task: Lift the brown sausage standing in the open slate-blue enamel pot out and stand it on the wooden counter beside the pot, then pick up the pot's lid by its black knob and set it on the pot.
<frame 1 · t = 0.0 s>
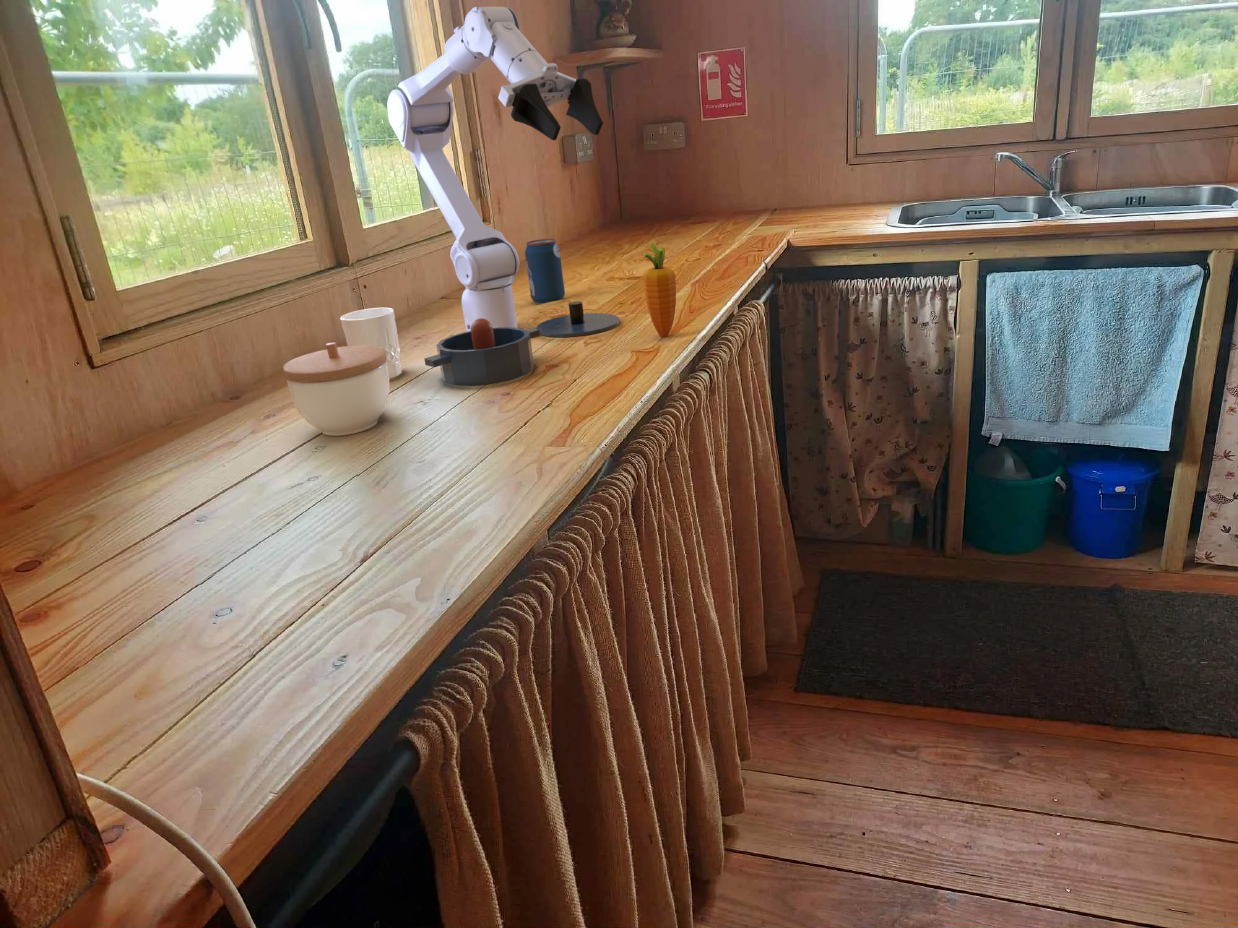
hand: (578, 131, 120), 32 cm above the counter, tool tilted 50°, fingers open, 7 cm apart
soda can: (548, 302, 176), on the counter
lidded bowl: (350, 427, 113), on the counter
white cup: (380, 378, 134), on the counter
lid: (578, 326, 151), point 1 cm above the counter
carrot: (664, 341, 139), on the counter
sausage: (488, 371, 129), resting on pot
pot: (489, 374, 130), on the counter
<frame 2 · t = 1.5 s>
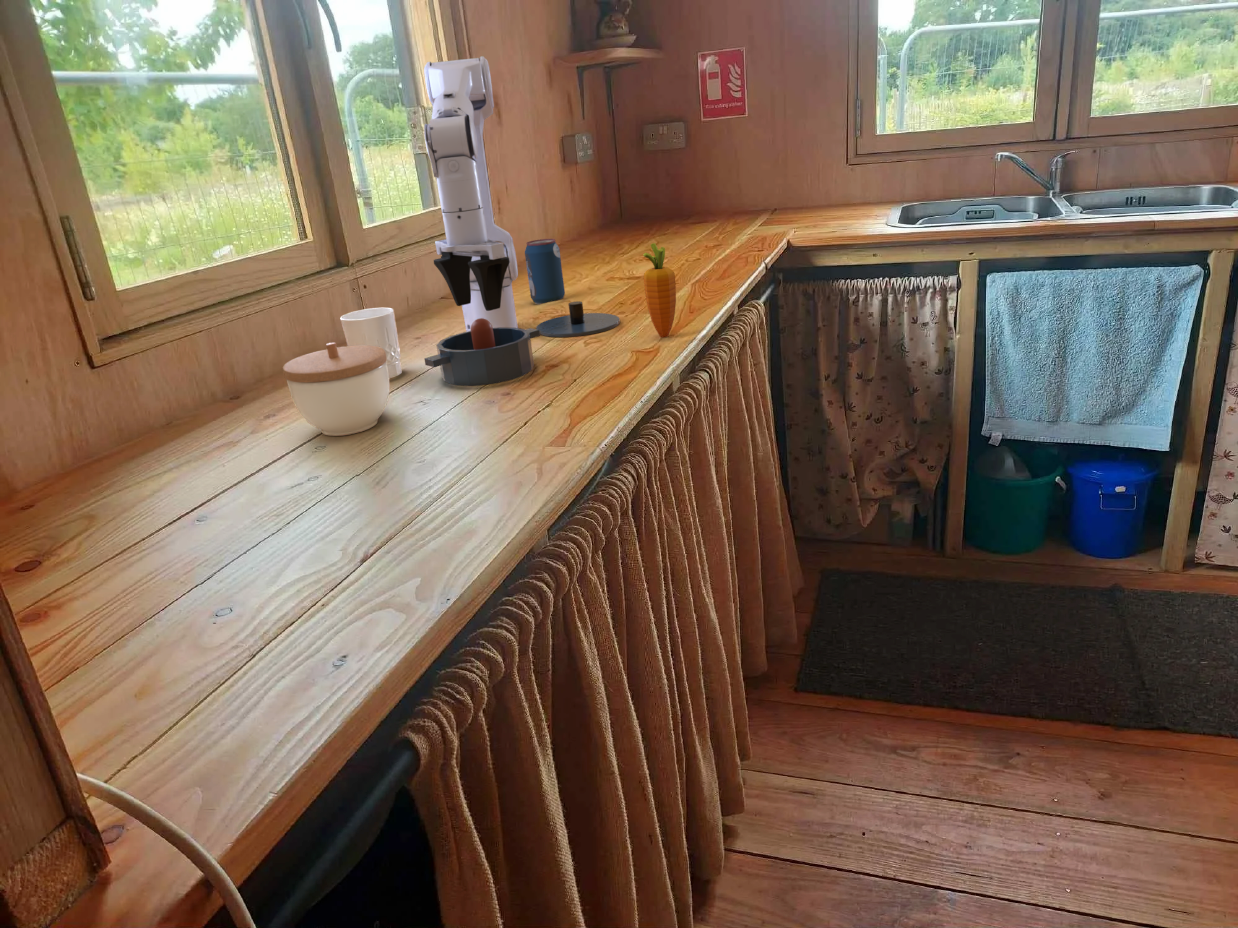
hand: (478, 307, 126), 10 cm above the counter, tool pointing down, fingers open, 7 cm apart
nothing on the counter moved.
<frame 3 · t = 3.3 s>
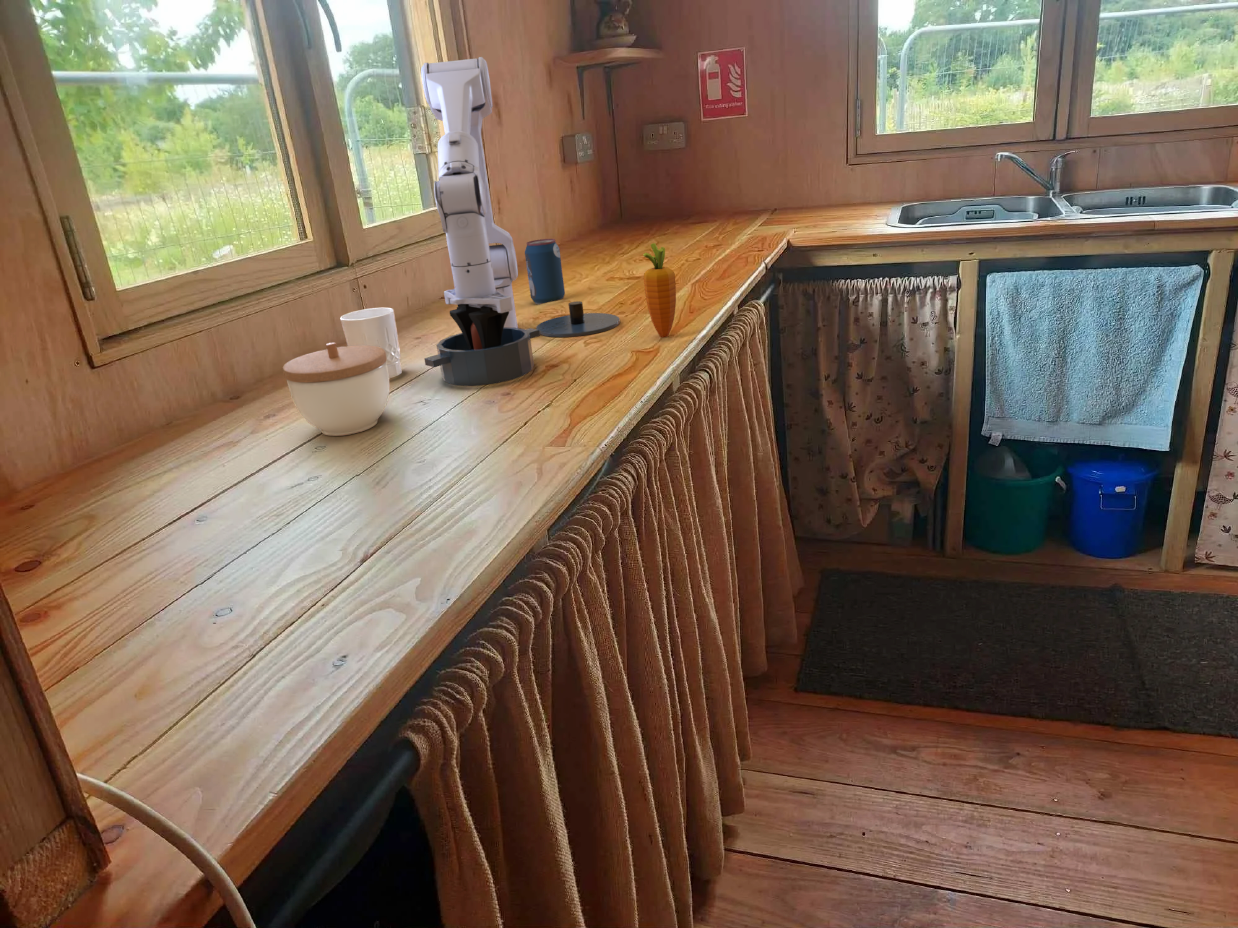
hand: (485, 356, 129), 3 cm above the counter, tool pointing down, fingers closed on sausage, 3 cm apart
sausage: (488, 371, 129), point 1 cm above the counter, touching gripper, pot
everything else where it was.
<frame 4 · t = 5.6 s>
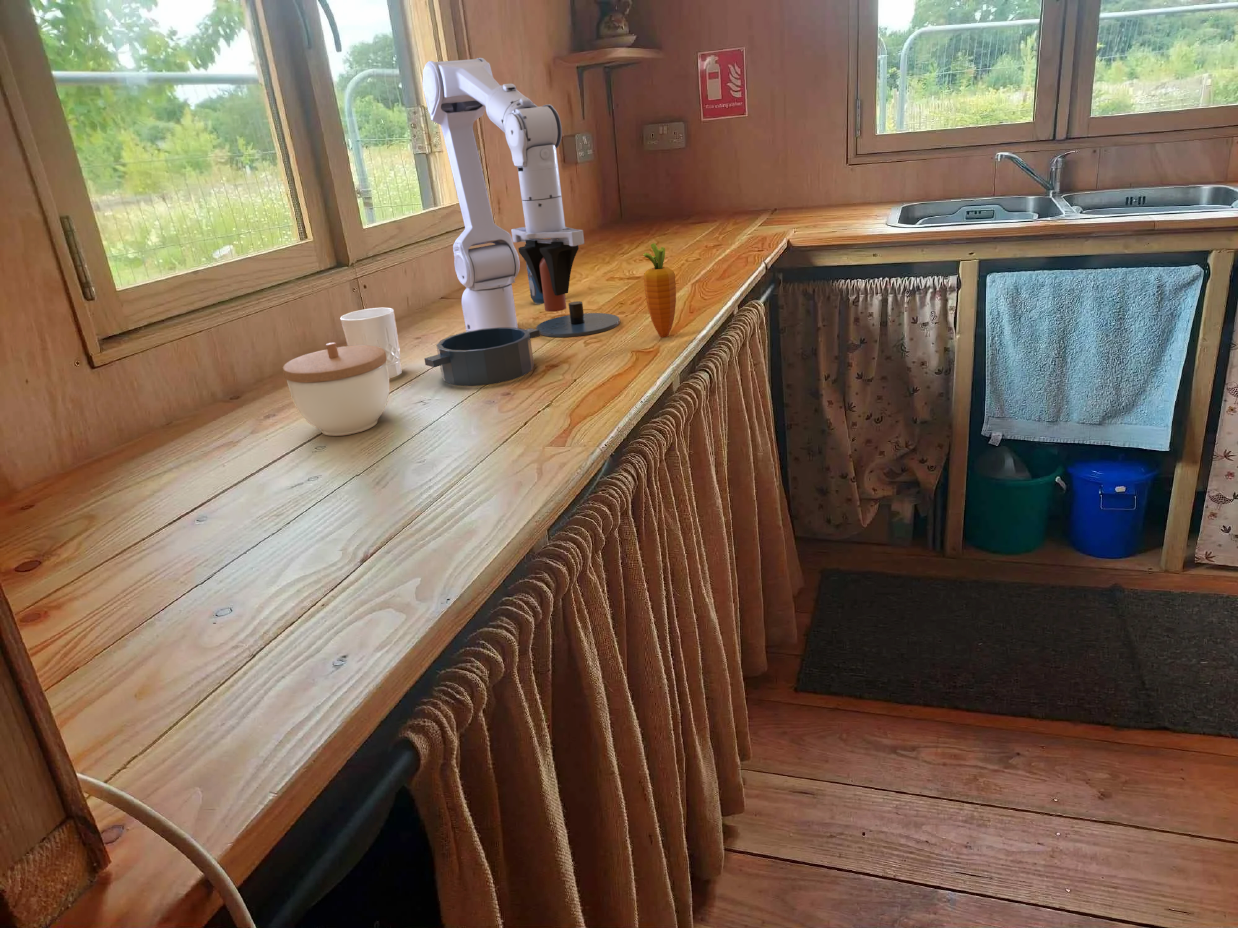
hand: (553, 293, 129), 10 cm above the counter, tool pointing down, fingers closed on sausage, 3 cm apart
sausage: (555, 309, 130), point 8 cm above the counter, touching gripper
everything else where it was.
when the fingers open (2 cm above the counter, at t = 8.0 s): sausage stays where it is, on the counter.
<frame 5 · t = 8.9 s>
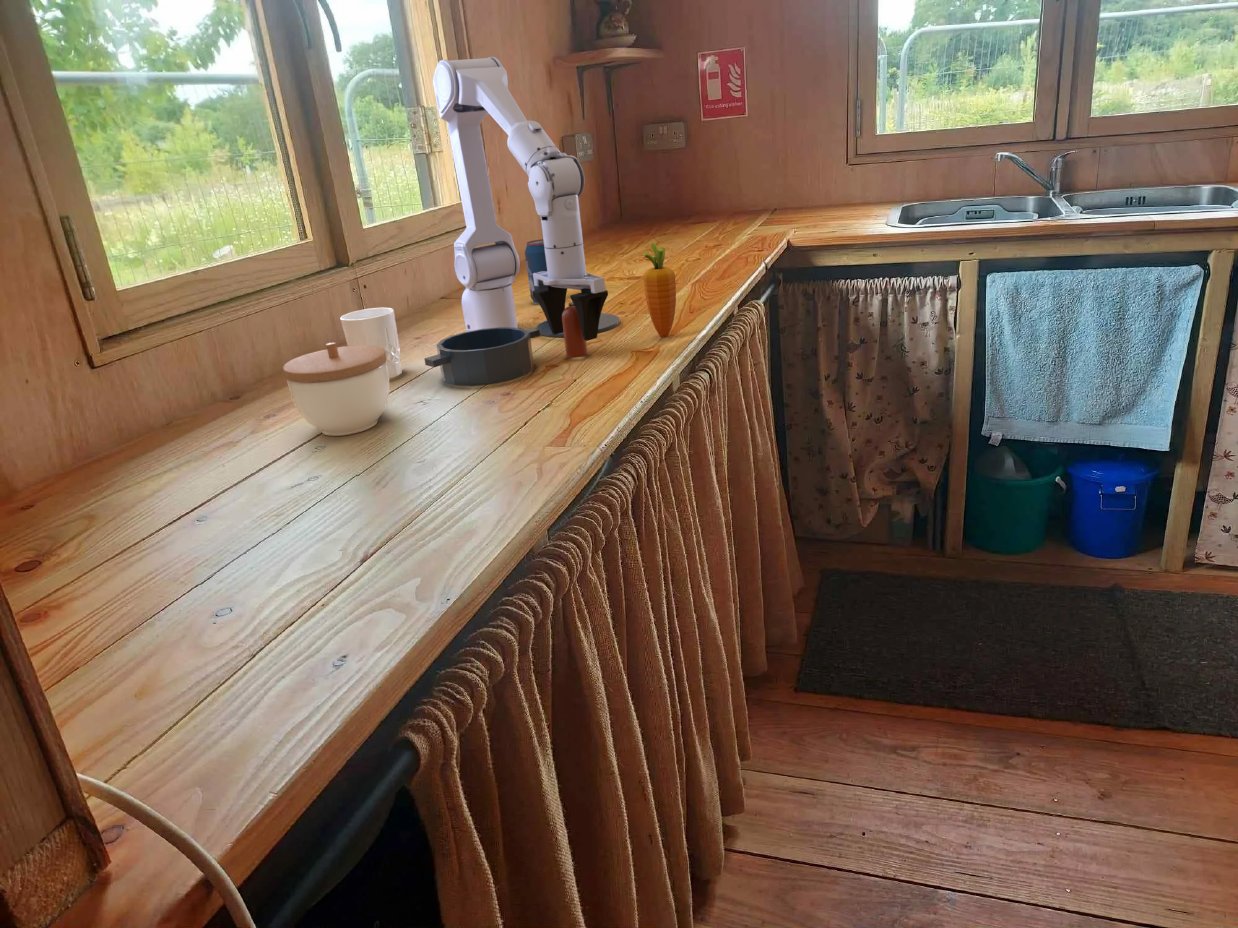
hand: (574, 336, 133), 3 cm above the counter, tool pointing down, fingers open, 7 cm apart
sausage: (577, 357, 134), on the counter
everything else where it was.
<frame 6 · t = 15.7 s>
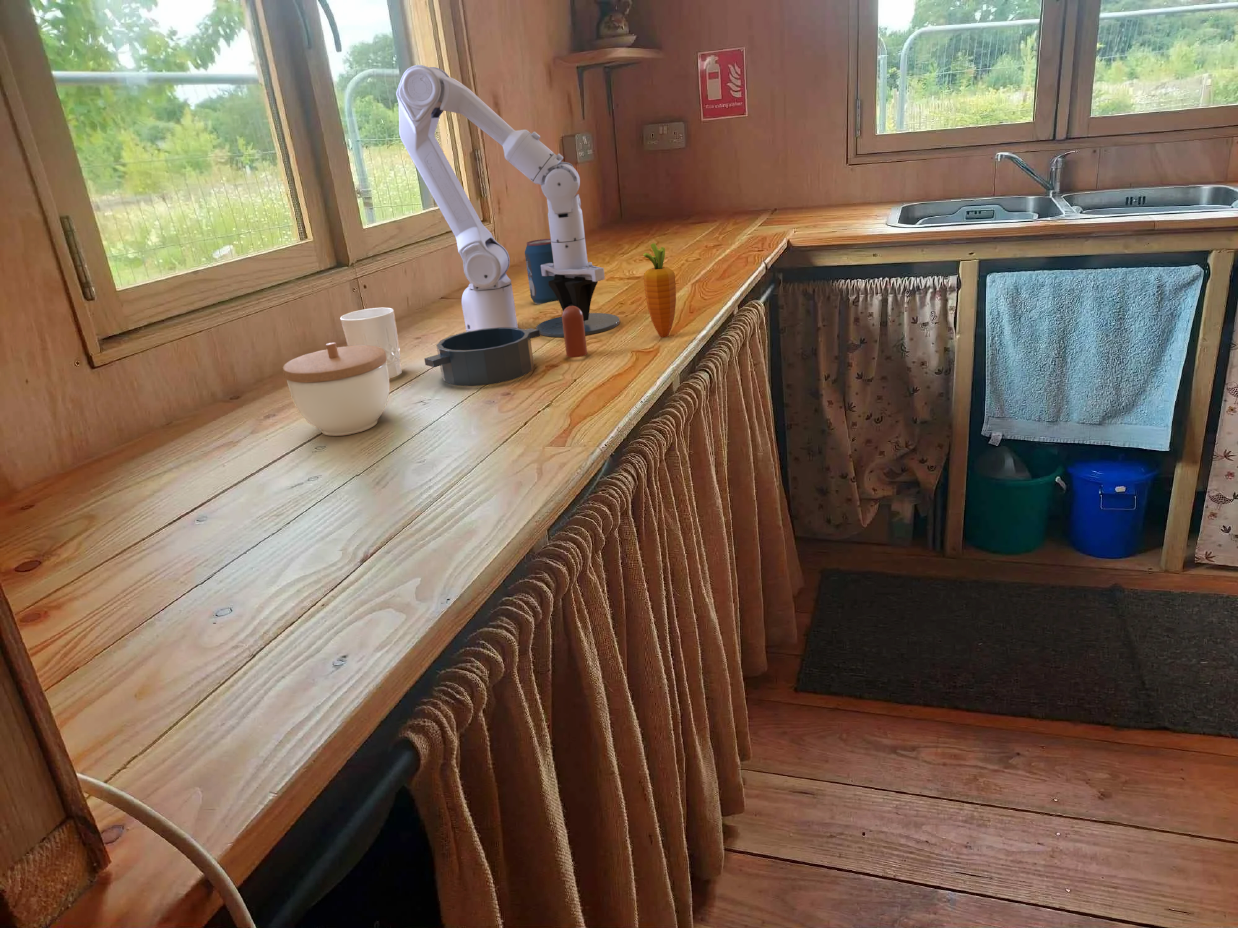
hand: (577, 320, 150), 2 cm above the counter, tool pointing down, fingers closed on lid, 2 cm apart
lid: (578, 326, 151), point 1 cm above the counter, touching gripper
everything else where it was.
when the fingers open (7 cm above the counter, at t = 20.2 s): lid stays where it is, resting on pot.
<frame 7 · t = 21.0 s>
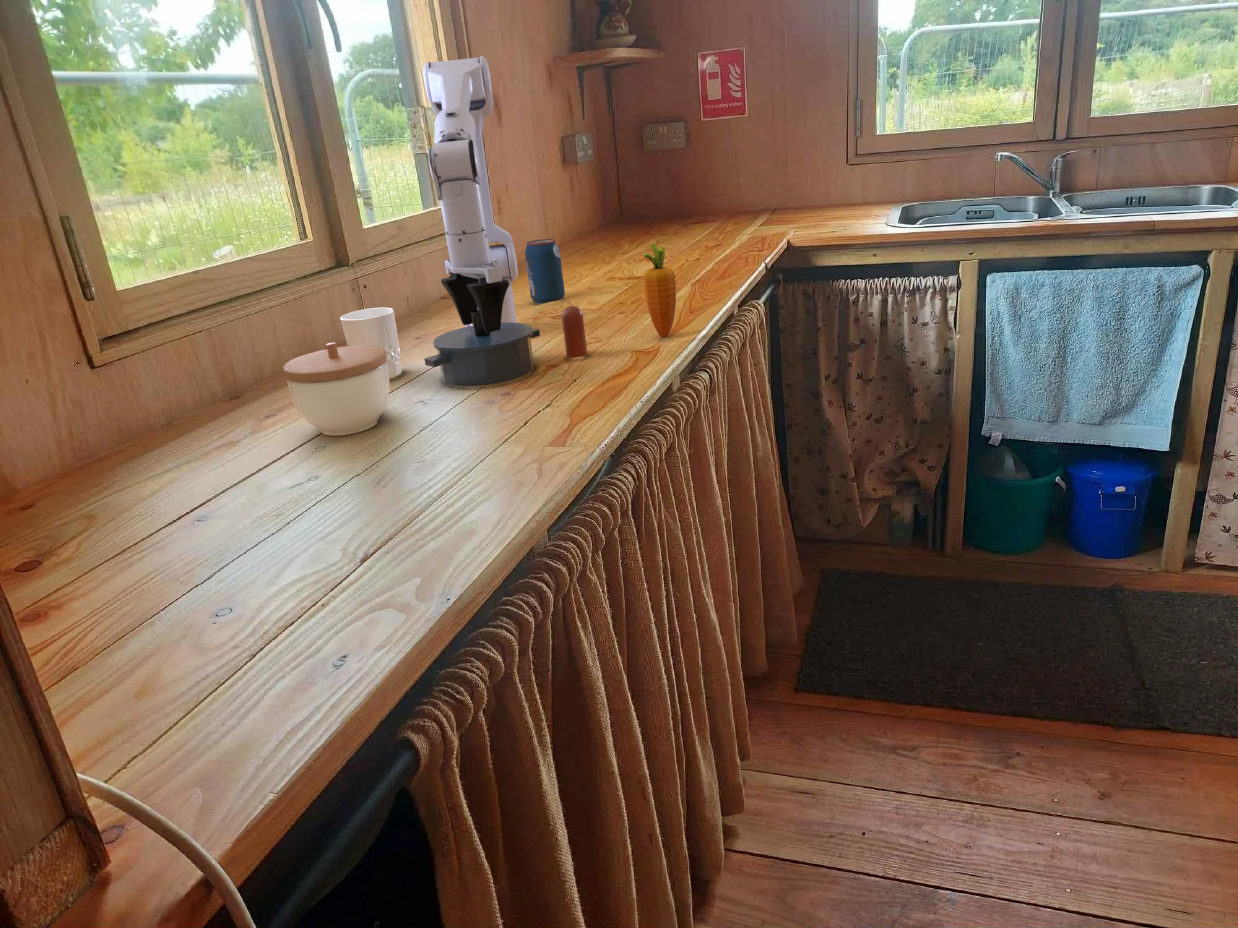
hand: (481, 327, 127), 7 cm above the counter, tool pointing down, fingers open, 7 cm apart
lid: (483, 338, 128), point 5 cm above the counter, touching pot
everything else where it was.
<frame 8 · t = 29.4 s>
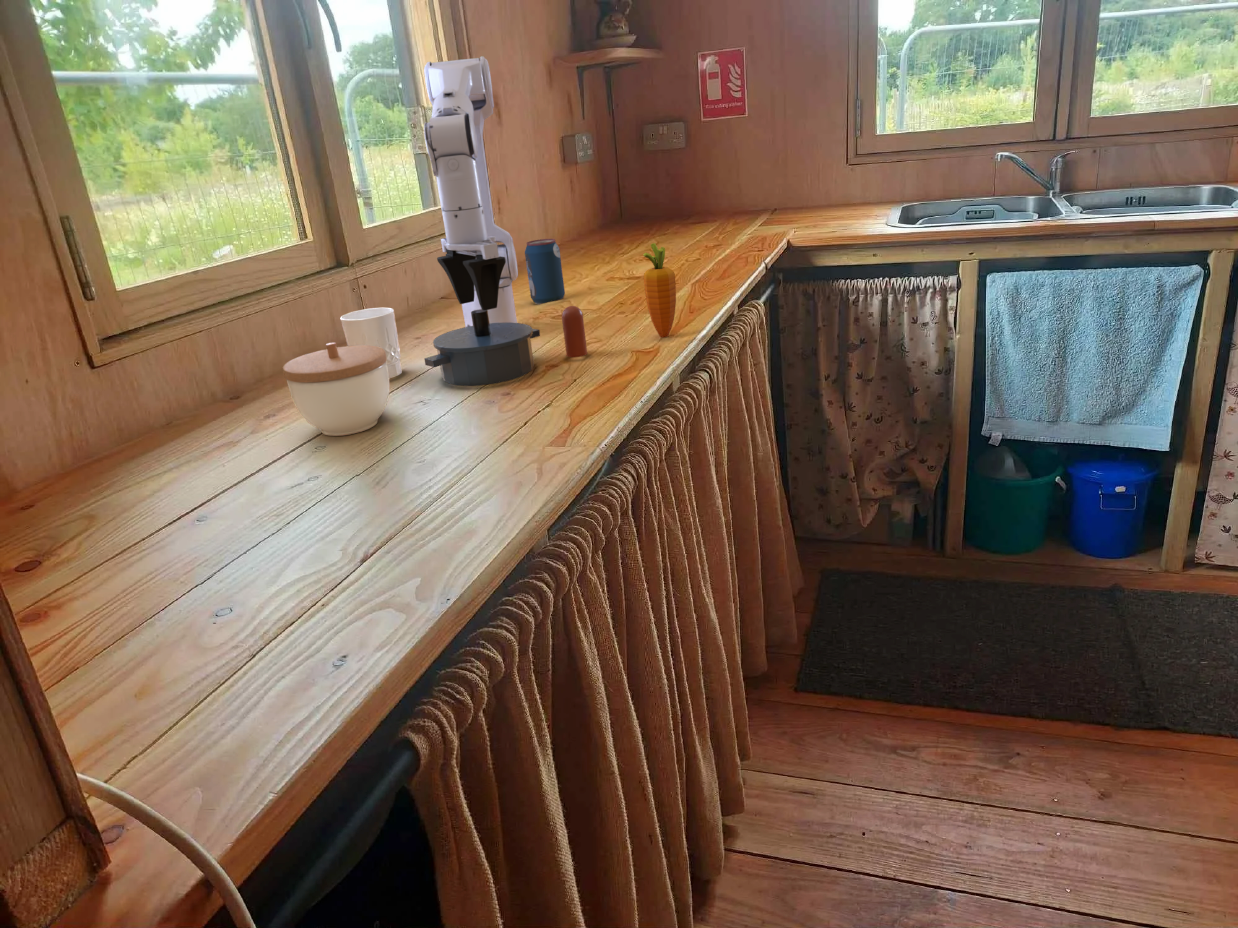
hand: (477, 305, 126), 10 cm above the counter, tool pointing down, fingers open, 7 cm apart
nothing on the counter moved.
at the end: sausage inside the target area (0.1 cm from its centre), on the counter; lid 0.1 cm off-centre on the pot, point 5.5 cm above the pot's base; lid tilted 0° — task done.
